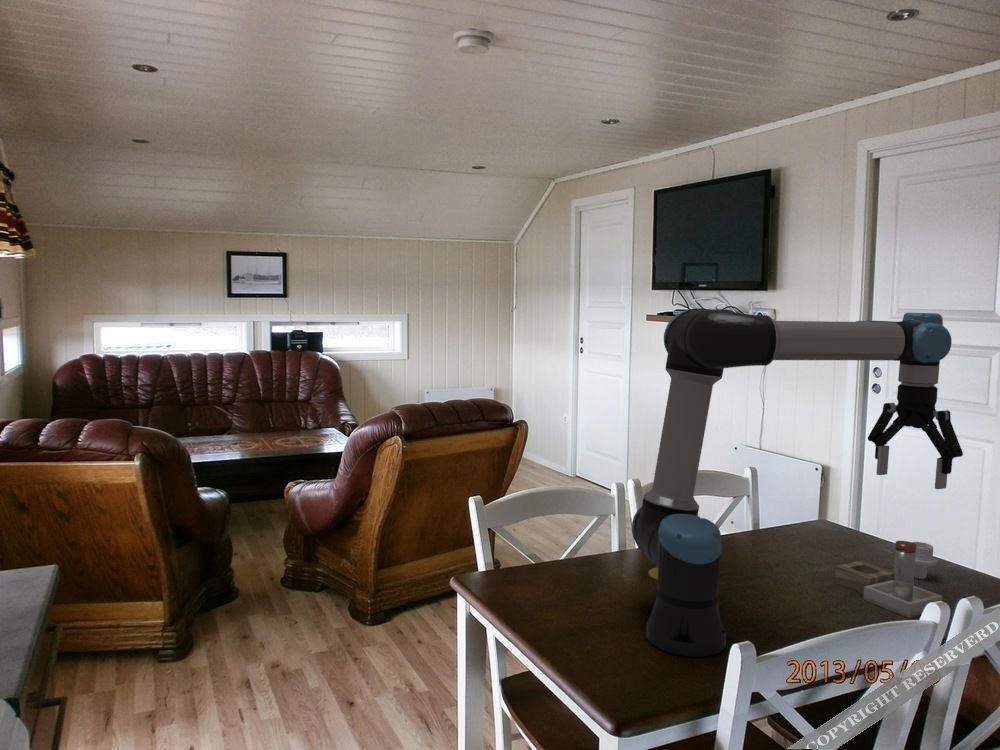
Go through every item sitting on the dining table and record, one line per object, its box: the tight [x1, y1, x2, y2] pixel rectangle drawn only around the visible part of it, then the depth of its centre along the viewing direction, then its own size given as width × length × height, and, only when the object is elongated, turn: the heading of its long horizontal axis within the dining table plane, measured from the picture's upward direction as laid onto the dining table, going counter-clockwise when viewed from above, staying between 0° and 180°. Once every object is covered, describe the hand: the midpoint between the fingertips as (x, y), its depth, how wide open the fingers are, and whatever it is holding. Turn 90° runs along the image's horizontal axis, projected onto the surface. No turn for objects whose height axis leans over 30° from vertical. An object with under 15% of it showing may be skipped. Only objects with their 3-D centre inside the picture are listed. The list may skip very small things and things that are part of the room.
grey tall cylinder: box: [892, 540, 916, 602], centre depth 165 cm, size 4×4×13 cm
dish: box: [863, 580, 944, 619], centre depth 165 cm, size 11×11×3 cm
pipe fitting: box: [911, 541, 938, 580], centre depth 182 cm, size 6×7×8 cm
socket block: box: [834, 560, 894, 595], centre depth 176 cm, size 9×9×4 cm
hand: (909, 481), depth 163 cm, fingers open, 13 cm apart
